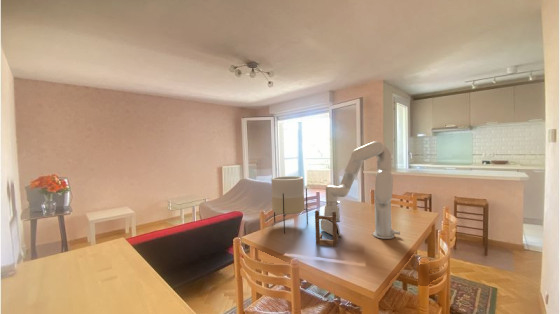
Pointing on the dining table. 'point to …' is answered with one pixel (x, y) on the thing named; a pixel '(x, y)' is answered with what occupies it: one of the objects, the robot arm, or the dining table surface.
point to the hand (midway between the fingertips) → (332, 229)
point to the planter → (288, 196)
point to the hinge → (329, 227)
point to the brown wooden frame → (319, 235)
